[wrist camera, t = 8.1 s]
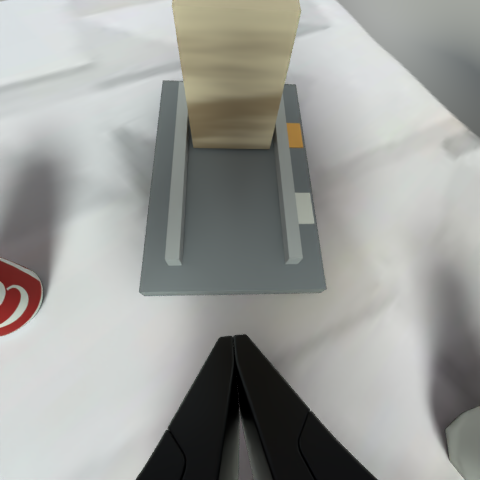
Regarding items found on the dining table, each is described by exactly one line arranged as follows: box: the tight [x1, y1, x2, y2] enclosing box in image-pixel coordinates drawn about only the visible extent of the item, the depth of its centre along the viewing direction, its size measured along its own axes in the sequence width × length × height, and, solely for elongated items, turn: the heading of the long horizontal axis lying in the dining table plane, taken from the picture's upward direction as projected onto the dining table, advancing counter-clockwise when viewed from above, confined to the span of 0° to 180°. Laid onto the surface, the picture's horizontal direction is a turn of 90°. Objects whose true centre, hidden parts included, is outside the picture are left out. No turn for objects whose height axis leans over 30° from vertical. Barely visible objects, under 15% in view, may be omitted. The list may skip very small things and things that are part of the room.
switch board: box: [139, 81, 326, 296], centre depth 24 cm, size 22×14×3 cm, turn 2°
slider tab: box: [172, 0, 301, 149], centre depth 20 cm, size 4×7×11 cm, turn 91°
